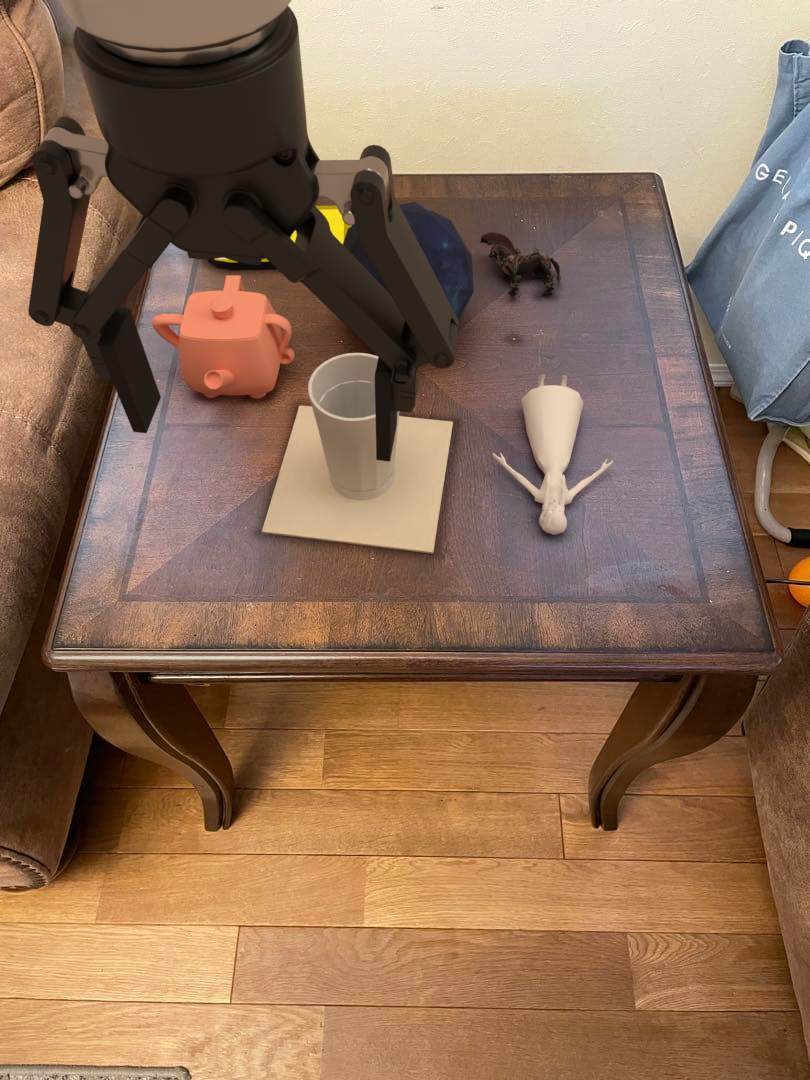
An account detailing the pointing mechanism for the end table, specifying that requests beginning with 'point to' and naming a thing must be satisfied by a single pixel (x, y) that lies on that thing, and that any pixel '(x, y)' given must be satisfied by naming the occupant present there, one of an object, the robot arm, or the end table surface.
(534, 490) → the woman figurine
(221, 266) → the game console
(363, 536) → the napkin
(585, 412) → the end table surface
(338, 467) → the cup
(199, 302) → the teapot
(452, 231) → the decorative orb
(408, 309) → the robot arm
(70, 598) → the end table surface
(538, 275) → the horse figurine
